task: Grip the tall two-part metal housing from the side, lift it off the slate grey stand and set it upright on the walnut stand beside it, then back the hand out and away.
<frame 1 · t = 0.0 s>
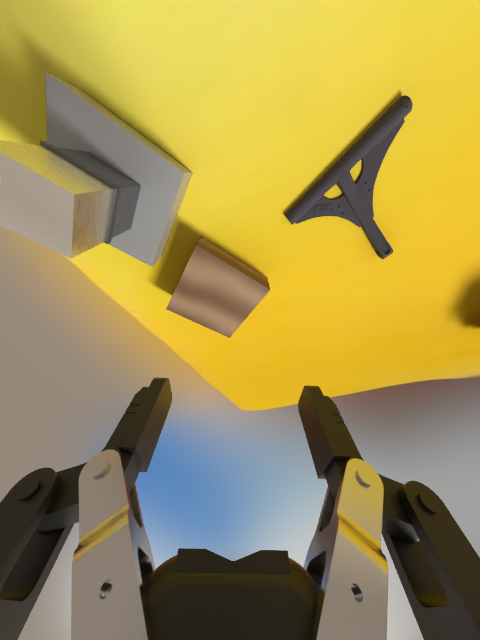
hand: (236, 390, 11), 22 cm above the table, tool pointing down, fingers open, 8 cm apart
housing: (112, 194, 20), point 4 cm above the table, touching stand a
stand a: (129, 191, 23), on the table
stand b: (218, 287, 32), on the table
bracket: (357, 214, 25), on the table
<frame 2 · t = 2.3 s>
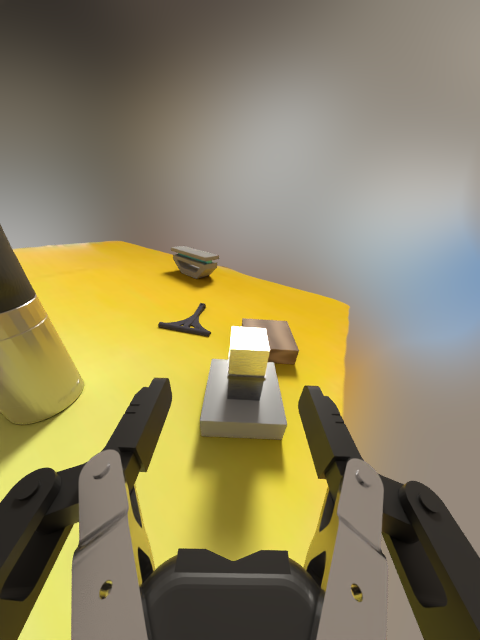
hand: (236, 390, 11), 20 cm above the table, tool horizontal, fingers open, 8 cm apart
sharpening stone: (195, 274, 91), on the table
housing: (243, 386, 30), point 4 cm above the table, touching stand a
stand a: (241, 401, 32), on the table
stand b: (265, 345, 46), on the table
bracket: (195, 320, 55), on the table
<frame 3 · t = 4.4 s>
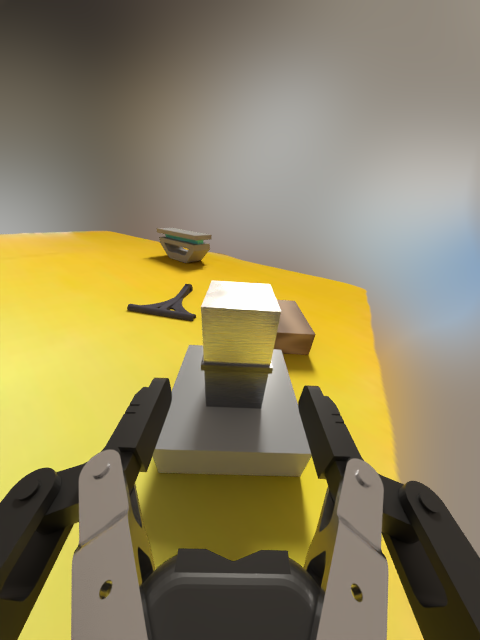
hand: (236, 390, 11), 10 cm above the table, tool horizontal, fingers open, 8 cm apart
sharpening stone: (185, 259, 79), on the table
housing: (234, 385, 19), point 4 cm above the table, touching stand a
stand a: (232, 408, 21), on the table
stand b: (267, 331, 35), on the table
bracket: (177, 304, 44), on the table
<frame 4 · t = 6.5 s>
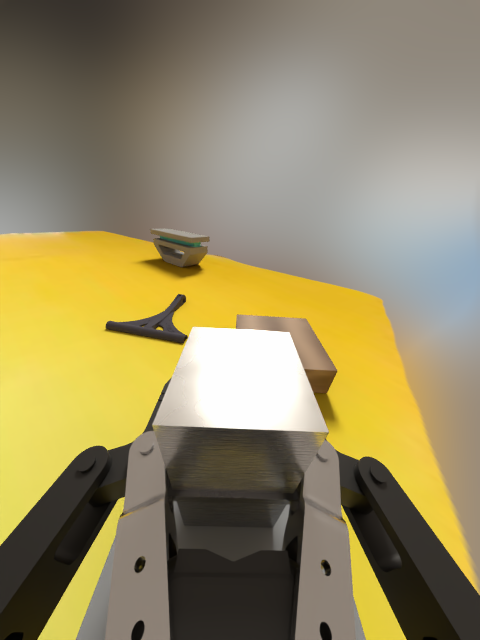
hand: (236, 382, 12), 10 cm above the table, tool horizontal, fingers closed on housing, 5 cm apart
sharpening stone: (181, 263, 73), on the table
housing: (231, 472, 12), point 4 cm above the table, touching gripper, stand a
stand a: (228, 494, 14), on the table
stand b: (273, 358, 28), on the table
bracket: (168, 319, 38), on the table
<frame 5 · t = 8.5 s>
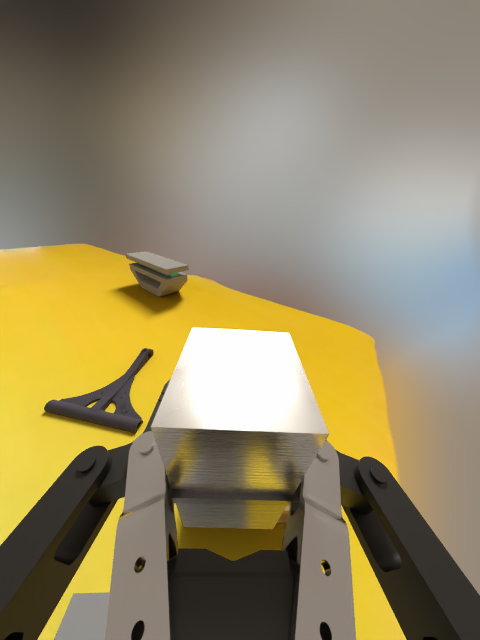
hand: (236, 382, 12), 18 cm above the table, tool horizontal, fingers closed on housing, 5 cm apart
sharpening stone: (160, 289, 68), on the table
housing: (230, 473, 12), point 12 cm above the table, touching gripper
bracket: (127, 384, 33), on the table
when the fingers open (11 cm above the table, at t = 10.6 s): housing drops 1 cm, resting on stand b.
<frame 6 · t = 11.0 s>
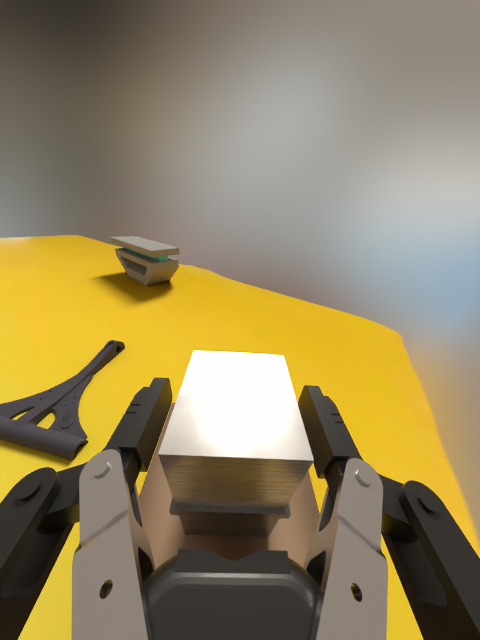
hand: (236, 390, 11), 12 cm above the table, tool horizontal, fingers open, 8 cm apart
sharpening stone: (149, 278, 60), on the table
housing: (229, 482, 13), point 4 cm above the table, touching stand b
stand b: (227, 501, 15), on the table
bracket: (83, 386, 24), on the table
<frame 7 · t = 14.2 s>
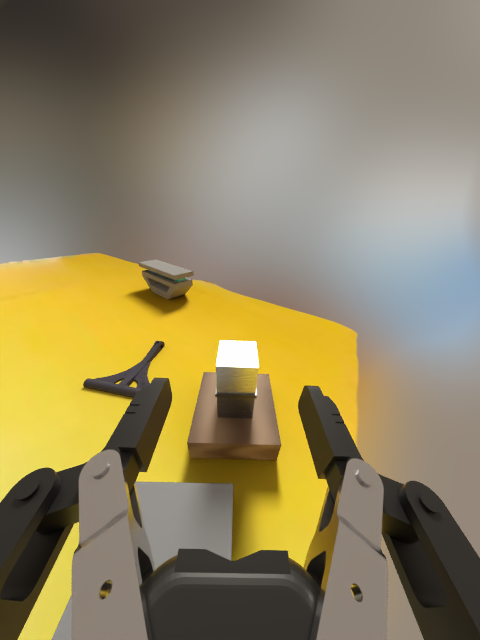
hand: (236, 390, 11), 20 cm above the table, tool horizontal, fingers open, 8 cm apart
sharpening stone: (168, 293, 76), on the table
housing: (235, 402, 29), point 4 cm above the table, touching stand b
stand a: (163, 585, 17), on the table
stand b: (234, 417, 31), on the table
bracket: (144, 369, 40), on the table
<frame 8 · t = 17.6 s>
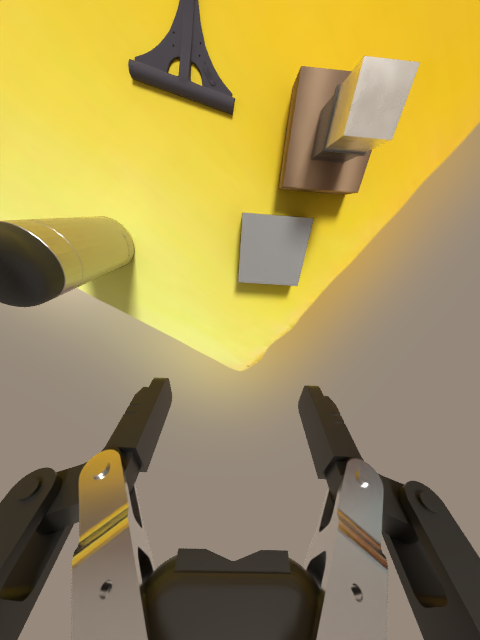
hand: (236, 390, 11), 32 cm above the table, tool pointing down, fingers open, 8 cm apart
housing: (332, 137, 26), point 4 cm above the table, touching stand b
stand a: (269, 249, 37), on the table
stand b: (322, 146, 29), on the table
bracket: (192, 19, 24), on the table
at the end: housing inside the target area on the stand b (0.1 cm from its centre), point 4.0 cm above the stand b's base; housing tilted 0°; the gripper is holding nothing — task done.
